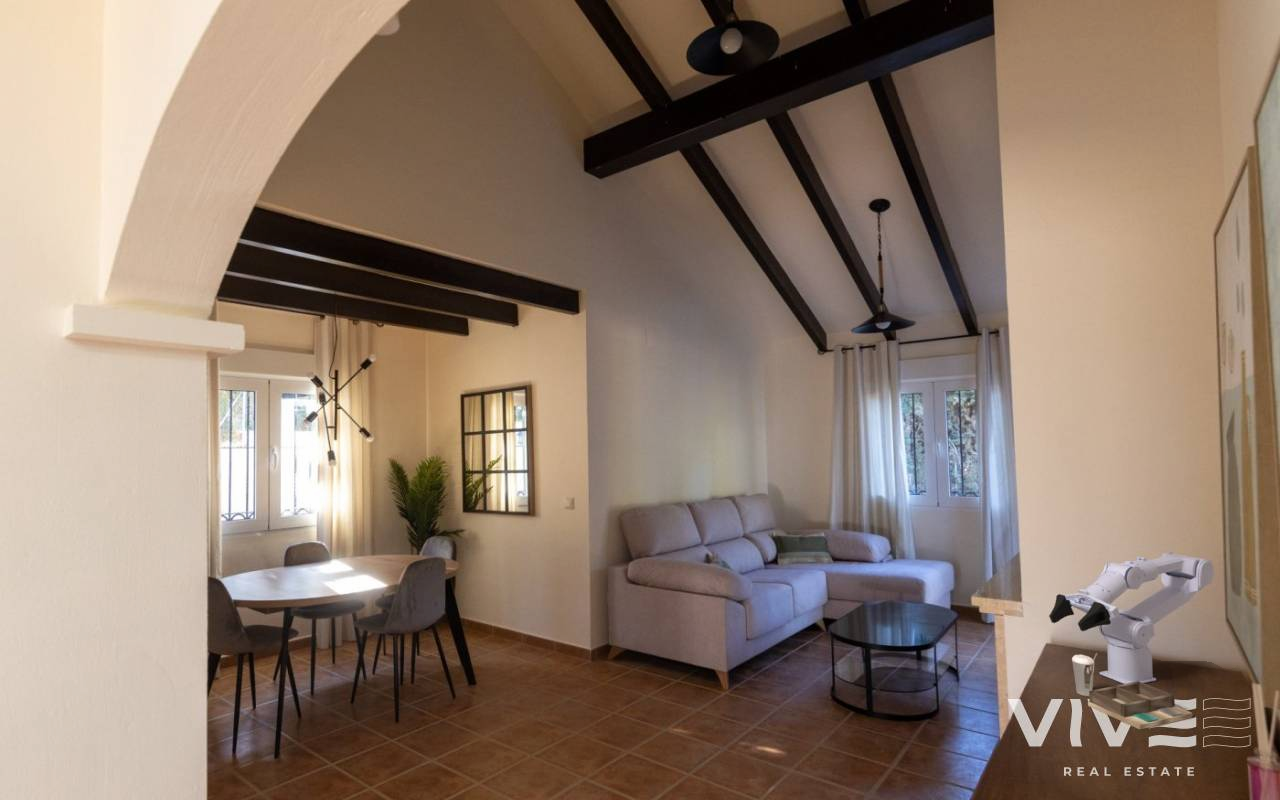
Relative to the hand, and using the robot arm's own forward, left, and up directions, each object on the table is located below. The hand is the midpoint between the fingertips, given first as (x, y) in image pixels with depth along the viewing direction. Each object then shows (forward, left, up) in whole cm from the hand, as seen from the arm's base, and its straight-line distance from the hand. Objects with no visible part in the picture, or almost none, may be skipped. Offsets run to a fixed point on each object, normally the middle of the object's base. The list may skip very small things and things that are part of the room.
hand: (1065, 623), depth 162 cm
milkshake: (-3, +2, -17) cm, 18 cm away
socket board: (-6, +13, -17) cm, 22 cm away
